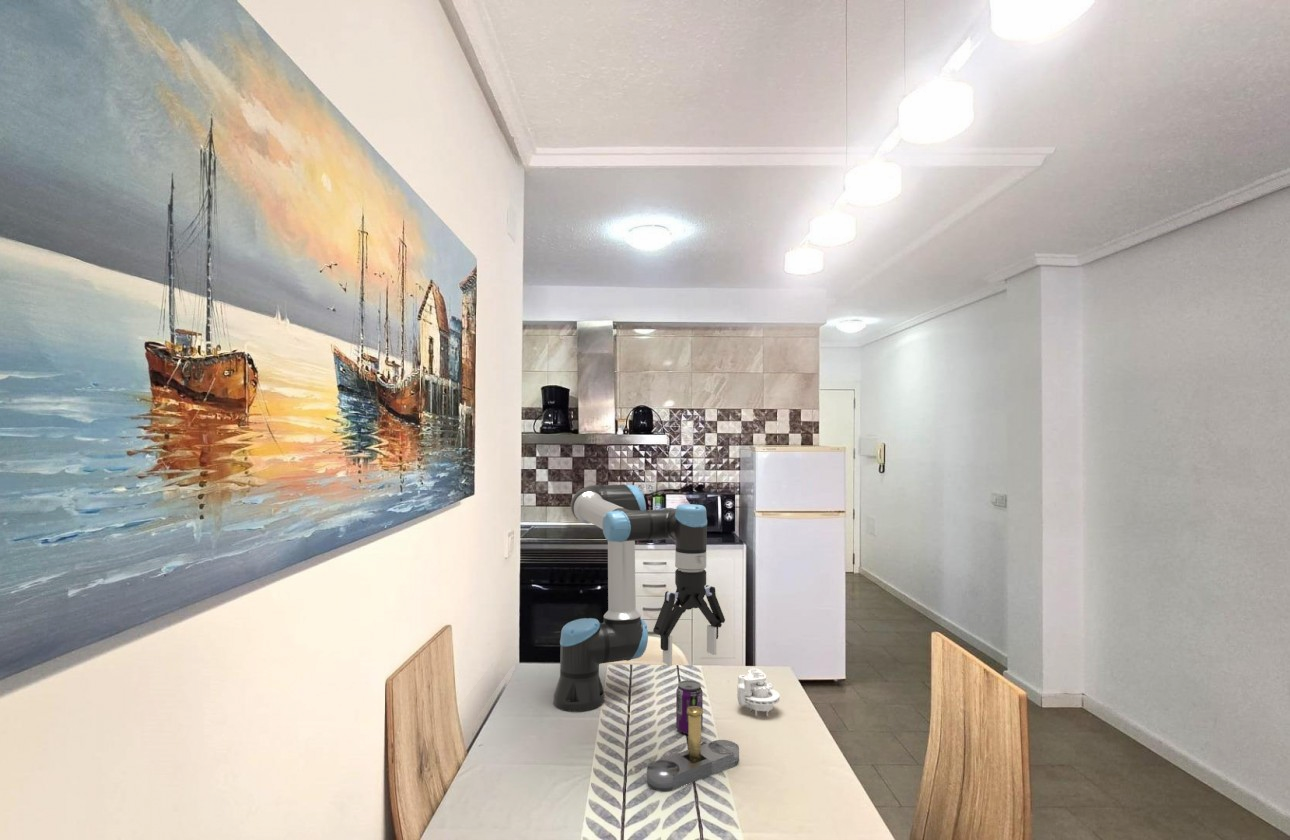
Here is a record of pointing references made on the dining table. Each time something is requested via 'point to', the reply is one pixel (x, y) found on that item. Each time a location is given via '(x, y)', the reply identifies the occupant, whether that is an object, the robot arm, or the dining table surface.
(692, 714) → the pin
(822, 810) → the dining table surface
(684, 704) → the beverage can
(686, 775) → the slotted metal plate
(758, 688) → the mechanical part
